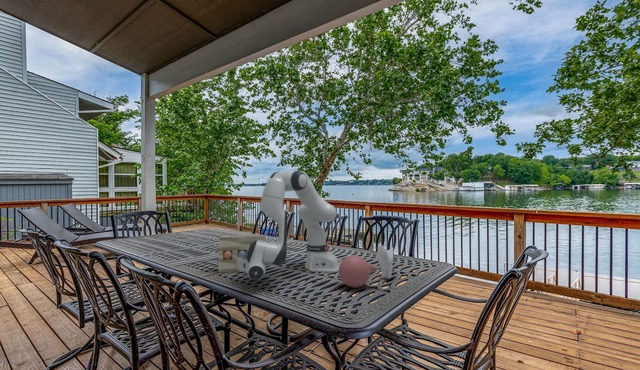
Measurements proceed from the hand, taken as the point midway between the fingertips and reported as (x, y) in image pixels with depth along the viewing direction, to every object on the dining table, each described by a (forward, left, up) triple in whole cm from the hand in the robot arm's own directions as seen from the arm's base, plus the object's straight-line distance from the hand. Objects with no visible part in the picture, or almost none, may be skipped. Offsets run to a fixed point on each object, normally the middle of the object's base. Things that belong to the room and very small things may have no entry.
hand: (256, 257), depth 167 cm
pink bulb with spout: (-57, +2, -10) cm, 58 cm away
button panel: (+14, -10, -10) cm, 20 cm away
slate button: (+11, -4, -2) cm, 12 cm away
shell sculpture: (-69, -17, -10) cm, 72 cm away
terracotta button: (+19, -2, -2) cm, 19 cm away
